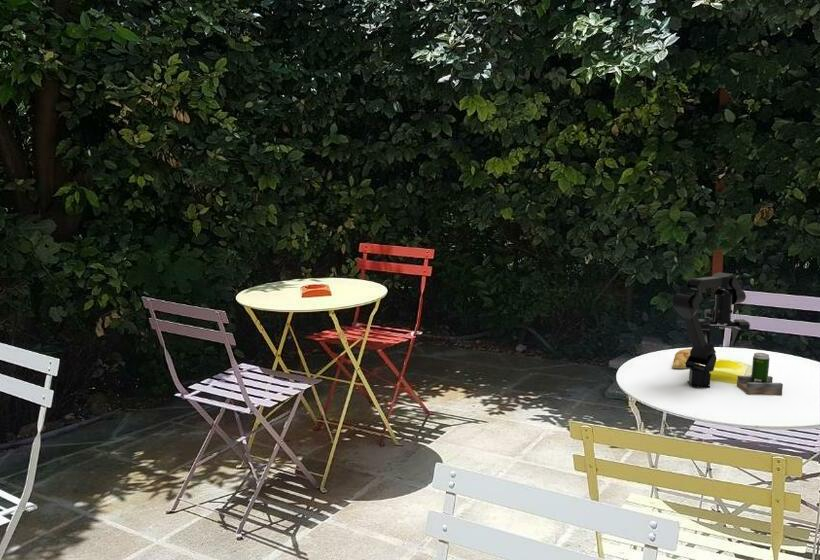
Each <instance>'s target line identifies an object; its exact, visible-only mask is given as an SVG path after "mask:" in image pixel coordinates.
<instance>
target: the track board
mask: <svg viewBox="0 0 820 560" xmlns="http://www.w3.org/2000/svg"><path fill="white" fill-rule="evenodd" d="M751 376H752V375H737V380H736V387H737V388H739V389H740V390H742V391H743V392H744V393H745V394H746V395H751V396H753V395H756V396H760V395H761V396H782V395H783V388H784V387H783V385H784V384H783V383H781V382H773V376H771V375H768V382H767V383H758V382H751Z"/></svg>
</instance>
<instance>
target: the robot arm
mask: <svg viewBox="0 0 820 560" xmlns="http://www.w3.org/2000/svg"><path fill="white" fill-rule="evenodd" d="M716 288H717V289H716ZM709 289H716V290H715V291H713V292H712V294H713V295H714V296H715V302H714V306H713V310H712V309H709V308H707V309H704V312H703V313H704V314H703V315H704V318H699V317H698V311H699V309H700V304H701V302H702V300H703V292H704V290H709ZM692 290H696V291H697V293H696V294H695V295H693V294H688V293H690V292H691V291H692ZM746 297H747V295H746V293H745V291H744V290H743V289H742V286H741V285H740V284H739V281H738V278H737V277H736V274H733V273H727V272H719V271H718V272H716V273H714V274H713V275H712V276H706V277H705V276H704V277H698V278H697V277H696V278H694V277H692V278H689V279H688V280H687V282H686V283H685V284H684V285H682V286H681V287H679V288H678V289H677V290H676V292H675V294H674V295H673V297H672V299H671V303H672V307H673V308H674V310H675V312H676V313H677V314H678V315H680V316H681V317H682V320H683V323H684V325H685V328H686V331H687V335H688V338H689V340H690V343H691V348H690V349H691V351H690V356H689V357H688V359H687V361H686V363H685V364H686V368H685V369H689V372H688V373H689V374H688V380H687V384H688V385H689V386H690V387H692V388H704V389H705V388H711V386H710V384H711V373H710V372H713V371H714V369H715V366H716V362H717V354H716V353H717V351H716V350H715V346H714V344H713V343H711V329H710V328H711V327H713V328H714V327H719V328H720V327H723V328H724V327H725V328H727V327H730V328H731V327H732V339H731V347H732V348H734V347H735V345H736V344H737V342H738V341H739V338H740V337H742V334H743V333H746V332H747V331H749V330H751V324H750V322H749V321H747V320H746V319H744V318H743V319H738V318H737V319H734V320H733V321H732V320H731V319H732V313H733V309H732V306H733V305H737V304H742V303H744V302H745V301H746V299H747V298H746ZM708 319H709V320H708ZM695 363H698V364H699V365H698V364H695Z"/></svg>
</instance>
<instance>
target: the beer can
mask: <svg viewBox="0 0 820 560" xmlns="http://www.w3.org/2000/svg"><path fill="white" fill-rule="evenodd" d="M770 358H771V357H770V355H769V354H767V353H764V352H754V353H753V356H752V363H751V375H750V376H751V382H758V383H767V382H768V376H769V370H770V369H769V367H770Z"/></svg>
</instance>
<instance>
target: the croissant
mask: <svg viewBox="0 0 820 560" xmlns="http://www.w3.org/2000/svg"><path fill="white" fill-rule="evenodd" d="M691 349H692V348H685V349H679V350H678V351H677V352H676V353H674V358H673V361H672V368H673V369H679V370H680V369H681V370H682V369H687V368H686V364H685V363H686V361H687V359H688V357H689V356H690V351H691ZM695 364H698V363H695ZM698 365H700V364H698Z"/></svg>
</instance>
